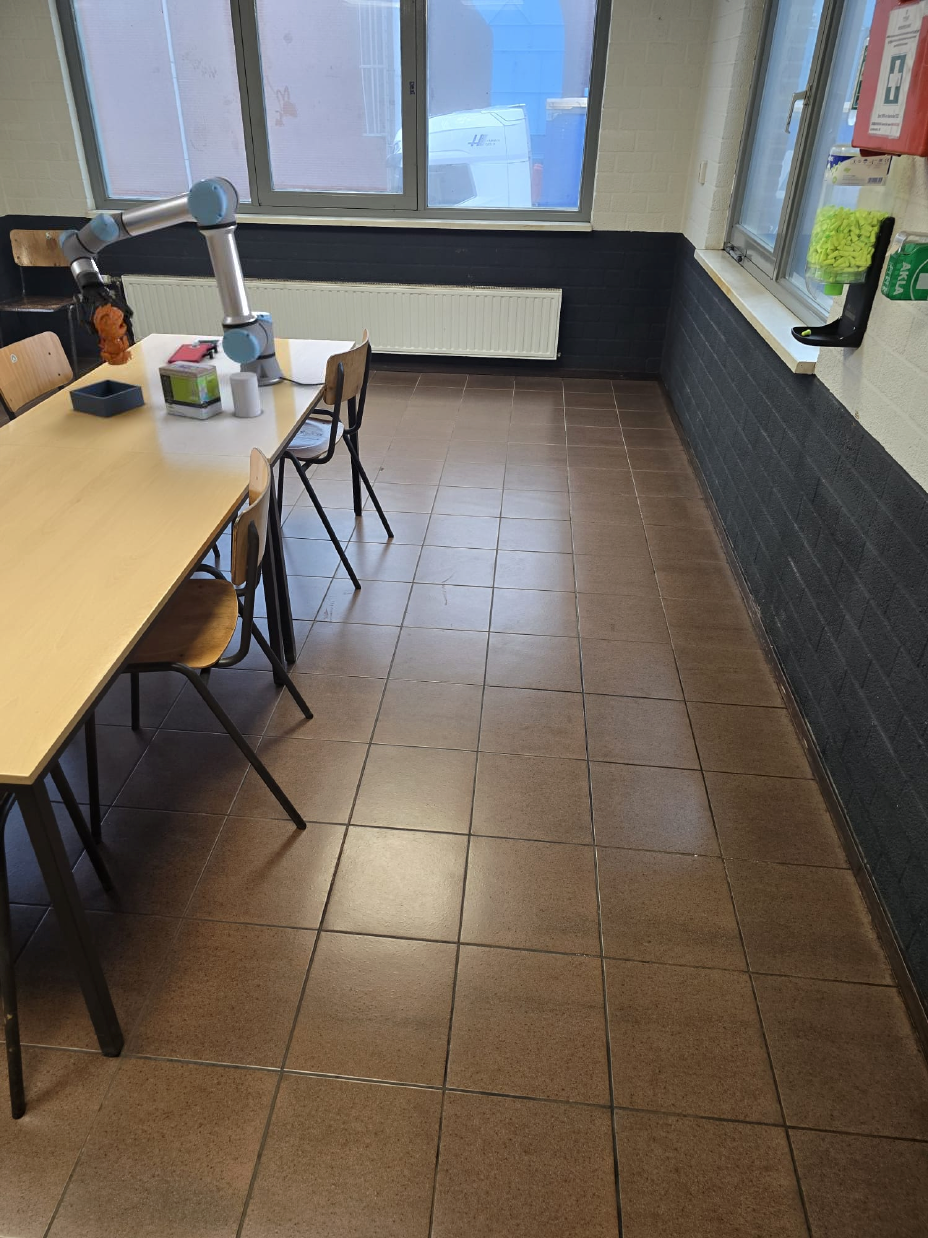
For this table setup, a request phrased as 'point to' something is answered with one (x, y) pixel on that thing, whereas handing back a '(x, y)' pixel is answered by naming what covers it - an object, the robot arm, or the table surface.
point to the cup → (245, 394)
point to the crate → (107, 398)
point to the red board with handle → (194, 351)
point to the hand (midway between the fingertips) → (116, 339)
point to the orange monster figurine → (112, 335)
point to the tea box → (191, 389)
